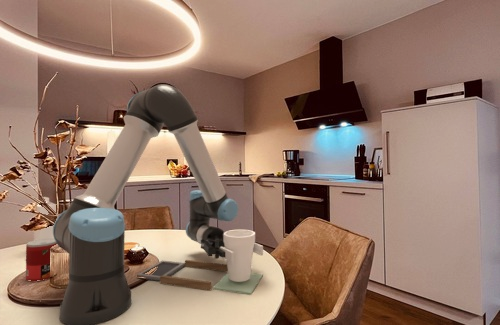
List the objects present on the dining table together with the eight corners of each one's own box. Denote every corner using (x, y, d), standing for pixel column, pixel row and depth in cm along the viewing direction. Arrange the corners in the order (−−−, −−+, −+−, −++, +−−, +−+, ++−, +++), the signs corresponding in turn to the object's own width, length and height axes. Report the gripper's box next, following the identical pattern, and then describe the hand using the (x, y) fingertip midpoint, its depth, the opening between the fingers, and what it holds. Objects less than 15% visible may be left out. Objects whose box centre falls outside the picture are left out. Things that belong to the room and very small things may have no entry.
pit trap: (162, 281, 81) (162, 277, 81) (136, 278, 83) (136, 274, 83) (184, 266, 93) (184, 263, 93) (162, 263, 96) (162, 260, 96)
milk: (51, 249, 113) (52, 196, 113) (57, 252, 109) (58, 196, 110) (33, 253, 108) (34, 197, 108) (38, 256, 104) (39, 198, 105)
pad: (251, 294, 73) (251, 292, 73) (213, 289, 76) (213, 287, 76) (262, 275, 85) (262, 274, 85) (230, 271, 89) (230, 270, 89)
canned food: (45, 282, 81) (45, 245, 81) (18, 282, 81) (19, 244, 81) (63, 272, 88) (63, 238, 89) (39, 272, 89) (39, 238, 89)
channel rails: (210, 290, 75) (210, 283, 75) (160, 283, 80) (160, 276, 80) (229, 270, 90) (229, 264, 90) (186, 265, 94) (186, 259, 94)
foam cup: (219, 273, 83) (219, 231, 83) (247, 269, 87) (247, 228, 87) (229, 286, 75) (229, 238, 75) (260, 280, 78) (260, 235, 78)
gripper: (237, 242, 102) (277, 259, 84) (181, 253, 89) (213, 276, 71) (237, 222, 102) (277, 234, 84) (181, 230, 89) (213, 247, 71)
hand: (247, 253), depth 77 cm, fingers closed on foam cup, 9 cm apart
